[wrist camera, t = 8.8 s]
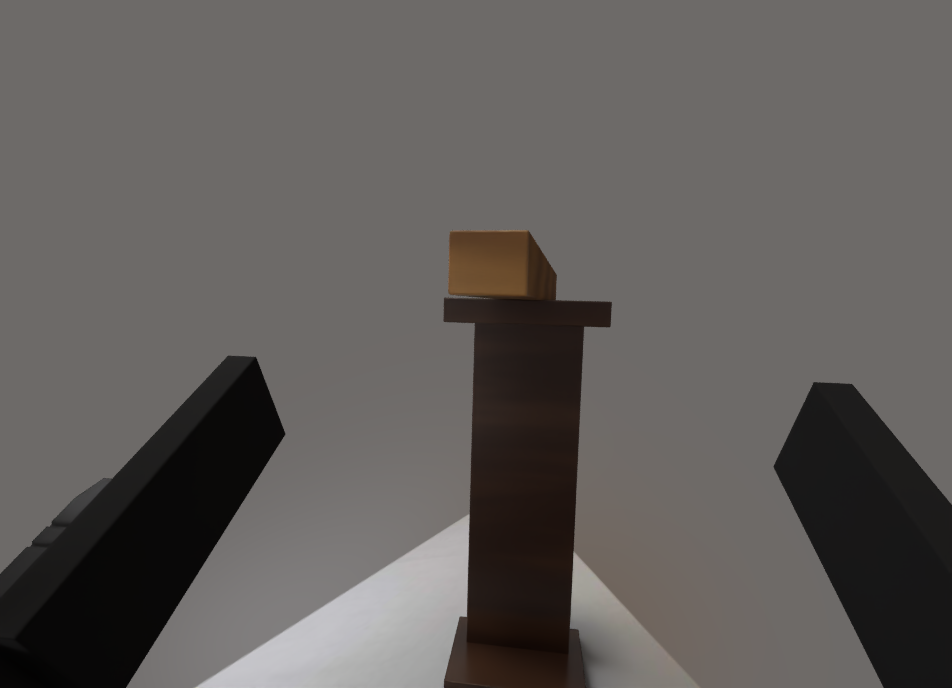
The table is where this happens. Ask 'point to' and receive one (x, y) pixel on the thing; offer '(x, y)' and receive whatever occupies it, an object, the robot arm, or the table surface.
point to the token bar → (499, 266)
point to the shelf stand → (522, 492)
